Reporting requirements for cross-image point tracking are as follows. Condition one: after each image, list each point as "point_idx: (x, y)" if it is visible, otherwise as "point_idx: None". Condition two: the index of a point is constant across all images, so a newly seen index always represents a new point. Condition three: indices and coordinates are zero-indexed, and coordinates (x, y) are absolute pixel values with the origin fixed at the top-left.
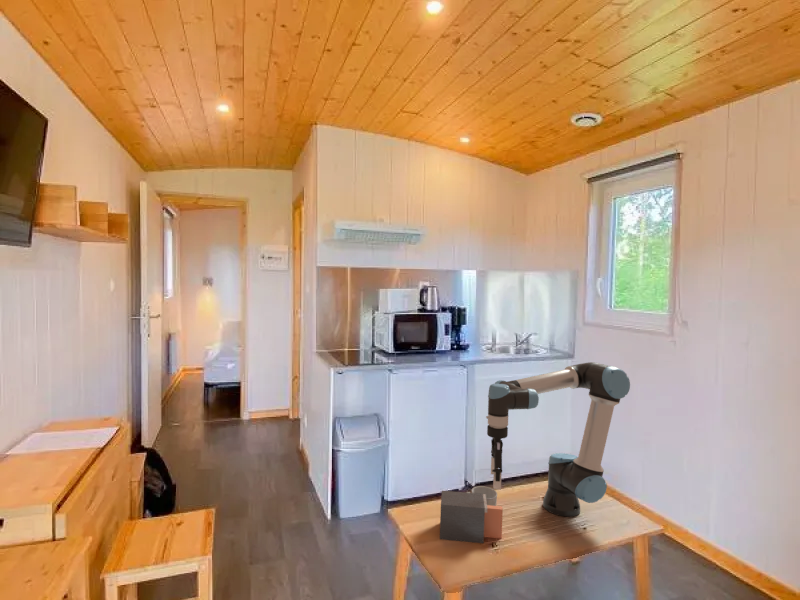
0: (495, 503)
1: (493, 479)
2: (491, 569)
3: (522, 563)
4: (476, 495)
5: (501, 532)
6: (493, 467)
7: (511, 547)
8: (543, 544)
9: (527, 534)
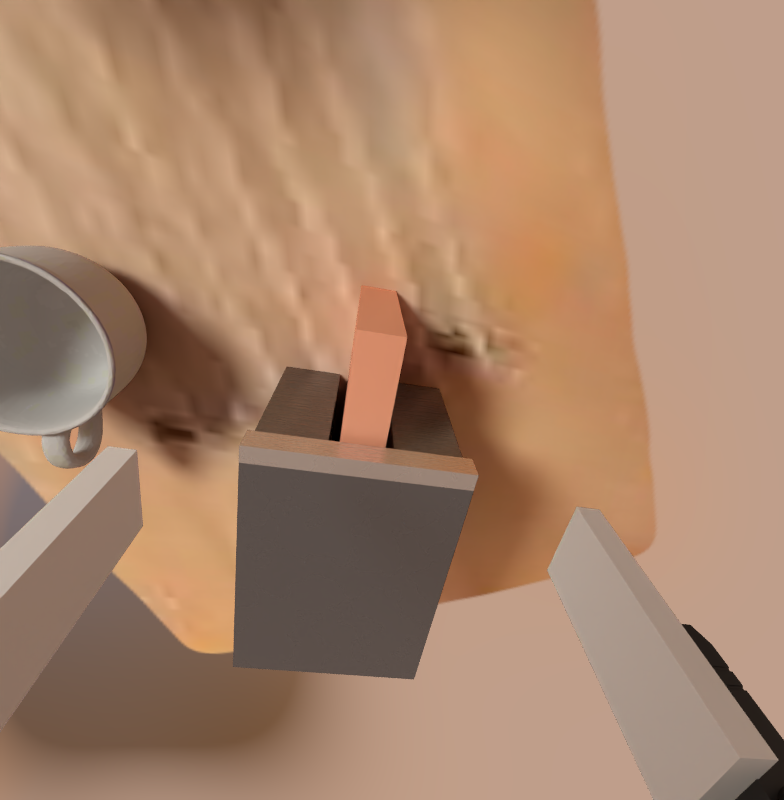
0: (78, 266)
1: (597, 668)
2: (628, 396)
3: (621, 248)
4: (273, 507)
5: (396, 299)
6: (82, 578)
7: (482, 262)
8: (468, 35)
9: (351, 111)
